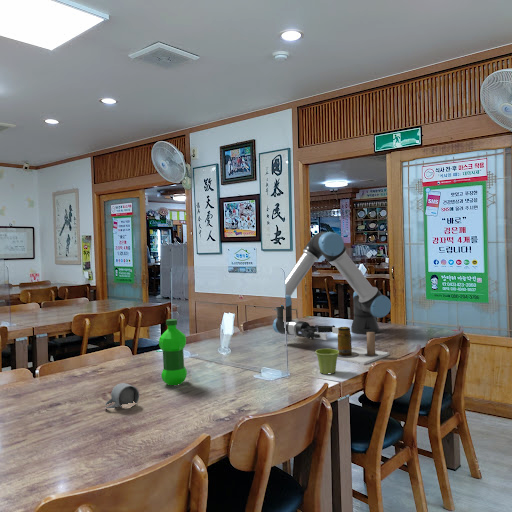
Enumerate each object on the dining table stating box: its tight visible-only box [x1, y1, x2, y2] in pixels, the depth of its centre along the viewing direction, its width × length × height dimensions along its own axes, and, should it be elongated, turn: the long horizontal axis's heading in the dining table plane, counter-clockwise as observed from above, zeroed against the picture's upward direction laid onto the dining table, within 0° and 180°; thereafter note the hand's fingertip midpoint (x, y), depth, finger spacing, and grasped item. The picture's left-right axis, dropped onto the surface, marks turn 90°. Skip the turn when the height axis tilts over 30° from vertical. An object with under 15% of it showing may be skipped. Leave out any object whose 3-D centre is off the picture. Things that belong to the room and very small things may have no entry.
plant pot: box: [315, 348, 339, 375], centre depth 189 cm, size 9×9×9 cm
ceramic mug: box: [104, 382, 140, 409], centre depth 160 cm, size 11×8×8 cm
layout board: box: [337, 332, 390, 365], centre depth 211 cm, size 20×18×11 cm
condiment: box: [337, 326, 358, 357], centre depth 211 cm, size 7×8×12 cm
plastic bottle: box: [158, 318, 188, 386], centre depth 182 cm, size 10×10×25 cm
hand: (335, 334), depth 215 cm, fingers open, 13 cm apart
